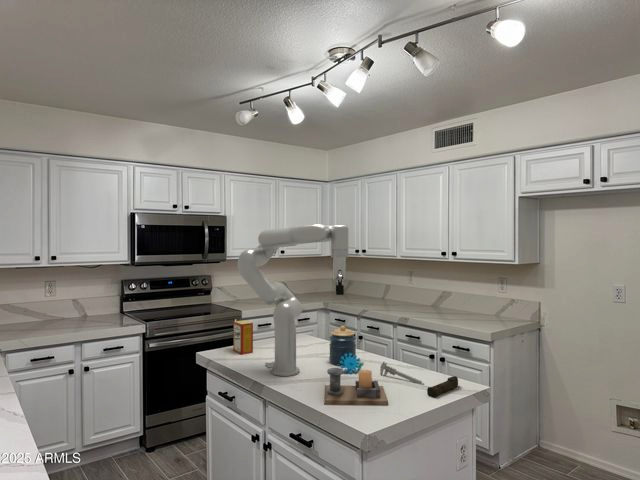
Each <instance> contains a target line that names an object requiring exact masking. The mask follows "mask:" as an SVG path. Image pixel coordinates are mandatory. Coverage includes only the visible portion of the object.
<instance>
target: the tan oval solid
mask: <svg viewBox="0 0 640 480" xmlns="http://www.w3.org/2000/svg"><path fill="white" fill-rule="evenodd" d="M357 373H358V381H359V388H372V381H373V376H372V375H373V373H372V370H369V369H360V370H357Z"/></svg>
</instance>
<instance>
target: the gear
mask: <svg viewBox="0 0 640 480" xmlns="http://www.w3.org/2000/svg"><path fill="white" fill-rule="evenodd" d="M344 356H345V358H346V359H344V357H343V356H342V357H341V359H342V360H343V361H344V362H342V361H340V364H344V365H340V367H341V368H340V369H343V372H345V373H349V375H352V374H353V373H354V374H357V373H358V371H360V370H362V366H364V364H365V362H363V361H362V362H360V361H361V358H359V357H358V356H357V354H356V355H354V356H353V357H350V356H352V353H349V357H348V358H347V354H344ZM357 357H358V358H357ZM354 358H356V359H354ZM353 370H354V372H353ZM348 371H349V372H348Z"/></svg>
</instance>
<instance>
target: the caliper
mask: <svg viewBox="0 0 640 480" xmlns="http://www.w3.org/2000/svg"><path fill="white" fill-rule="evenodd" d="M387 363H388V362H385V361H383V362H382V363H381V364H380V370H379V371H380V372H379V373H380V376H382V375H383V376H384V377H386V376H387V375H388V373H389V374H390V375H393V376H395V375H397V376H399V377H401V378H402V379H403V378H404V379H406V380H408V381H410V382H412V383H415V384H417V385H422V386H424V385H425V383H424V382H422V380H421V379H418V378H416V377H413V376H411V375H409V374H406V373H403V372H401V371H399V370H397V369H396V368H394V367H392V366H390V365H387Z"/></svg>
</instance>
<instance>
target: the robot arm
mask: <svg viewBox="0 0 640 480" xmlns="http://www.w3.org/2000/svg"><path fill="white" fill-rule="evenodd" d="M257 240H258V246H257V247H256V248H248V249H245V250H243V251H242V252H241V253H240V254H239V256H238V259H237V269H238V272H239V274H240V275H241V276H240V277H241V278H242V279H243V280H244V281H245V282H246V283H247V284H248V286H250V288H251V289H252V290H253V291H254V293H256V295H257V296H258V297H259V299H260V300H261V301H262V302H263V303H264V304H265V305H269V306H270V305H276V306H274V309H273V314H272V318H273V324H274V326H273V327H274V361H272V362H264V368H266V369H271V374H272V375H274V376H277V377H278V376H279V377H291V376H292V377H293V376H296V375H298V374H299V373H301V372H300V368H299V367H297V328H296V327H297V326H296V321H295V320H296V319H298V318H299V317H301V314H302V312H303V307H302V304H301V303H300V300H299V299H297V297H295V295H294V294H293V293H292V291H290V289H289V288H288V287H287V286H286V285H284V283H281V282H279V281H273V282H272V281H271V280H270V279H269V278H268V277H267V275H266V274H265V273H264V272H263V271H262V270H260V269H259V268H258V267H262V266H264V265H266V264H267V263H268V262H269V260H270V259H271V258H272V257H273V256H274V255H275V253H277V251H278V250H279V249H280V248H288V247H295V246H297V245H302V244H303V245H305V244H313V243H326V242H330V257H331V258H333V259H332V261H333V262H332V280H333V281H335V295H336V296H344V292H345V291H344V290H345V288H344V287H345V285H344V281H345V280H346V268H347V266H346V263H347V262H346V261H347V258H349V226H348V225H344V224H335V225H327V224H320V223H319V224H310V225H309V224H308V225H301V226H289V227H281V228H270V229H266V230H263V231H261V232H260V233H259V235H258V238H257Z"/></svg>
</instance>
